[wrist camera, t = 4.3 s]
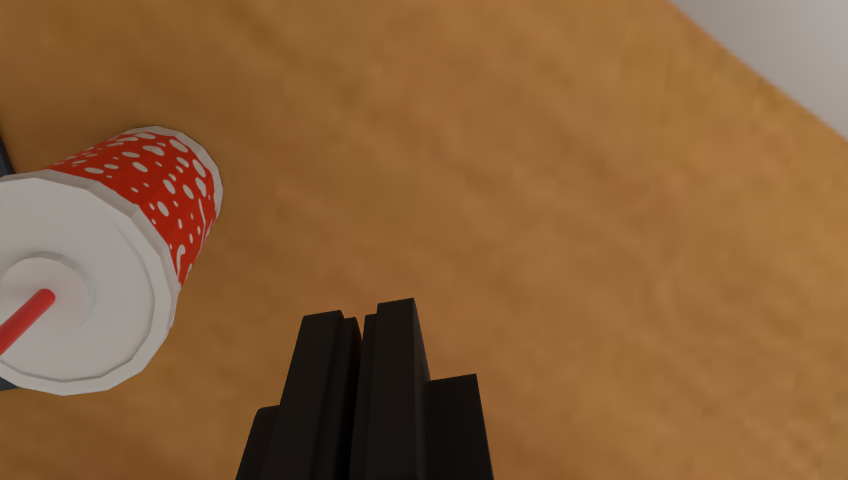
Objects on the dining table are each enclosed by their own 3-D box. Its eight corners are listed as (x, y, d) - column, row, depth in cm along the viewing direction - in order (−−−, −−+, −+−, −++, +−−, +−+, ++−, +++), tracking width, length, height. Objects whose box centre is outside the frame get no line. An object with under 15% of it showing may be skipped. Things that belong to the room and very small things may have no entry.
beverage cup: (167, 294, 29) (-33, 579, 16) (39, 180, 27) (-303, 395, 14) (279, 194, 28) (160, 416, 14) (152, 67, 26) (-113, 190, 13)
